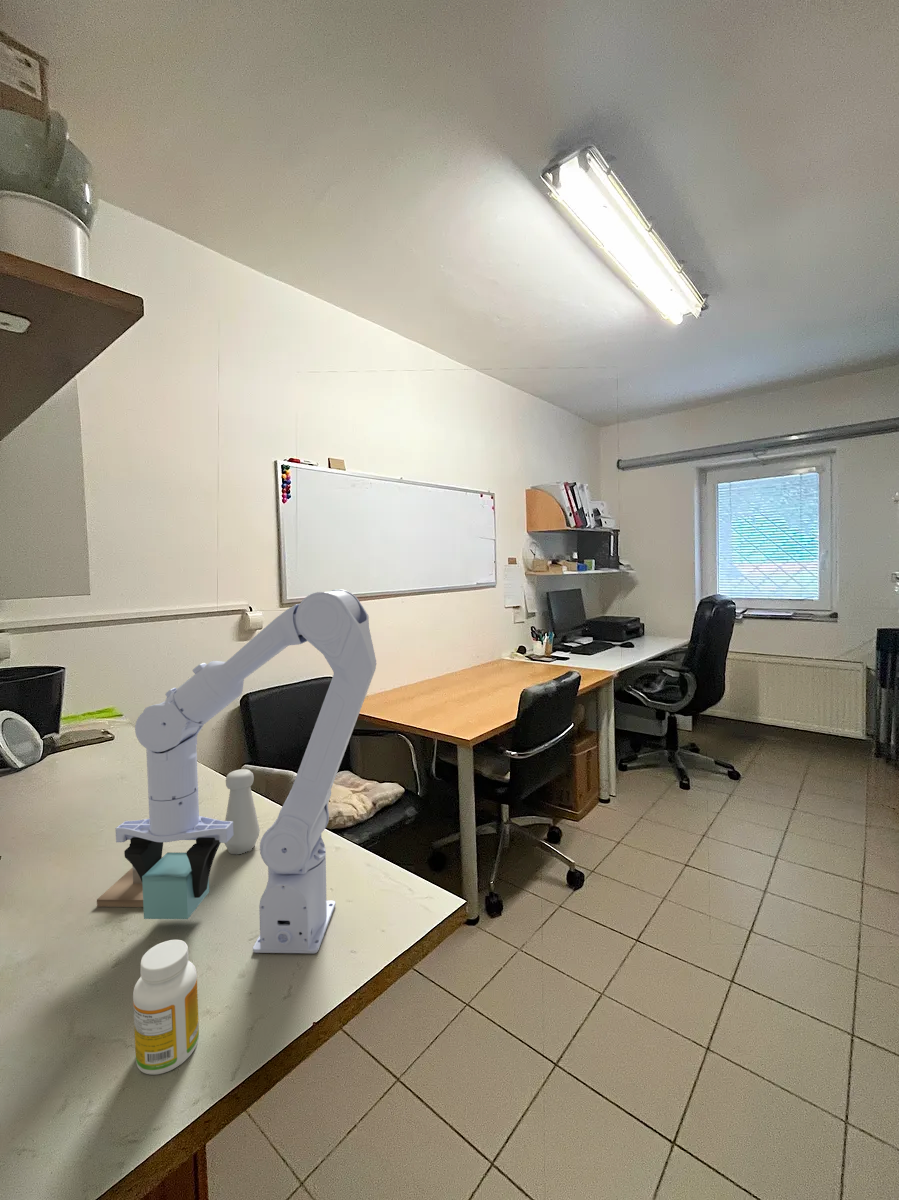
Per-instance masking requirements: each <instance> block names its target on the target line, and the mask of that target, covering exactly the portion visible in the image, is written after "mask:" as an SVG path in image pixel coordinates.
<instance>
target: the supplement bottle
mask: <svg viewBox="0 0 899 1200" xmlns="http://www.w3.org/2000/svg"><path fill="white" fill-rule="evenodd" d="M189 957H190V956H189V947H188V944H187V943H186V941H184V940H181V939H170V940H165V941H163V942H160V943H157V944H155V945H154V946H152V947H150V948H149V949H148V950H147V951H146V952H145V953H144V954H143V955H142V956H141V960H140V972H139V973H140V977H139V978H138V980H137V981H136V983H135V984H134V988H133V993H132V1004H133V1005H132V1006H133V1025H134V1029H133V1030H134V1048H135V1049H134V1050H135V1062H136V1066H137V1068H138V1069H139V1071H141V1073H144V1074H147V1075H152V1076H153V1075H162V1074H165V1073H167V1072H170V1071H172V1070H174V1069H176V1068H177V1067H179V1066H180V1065H182V1064H183V1063H184V1062H185V1061H187V1059H188V1058H190V1056H191V1055H192V1053H193V1052H194V1050H195V1049H196V1047H197V1045H198V1043H199V1039H200V1025H199V1024H200V1023H199V1022H200V1021H199V999H198V998H199V997H198V995H199V994H198V975H197V973H198V972H197V969H196V966H195V964H194V963H193V962H191V961H190V960H189Z"/></svg>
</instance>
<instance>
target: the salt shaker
mask: <svg viewBox="0 0 899 1200" xmlns="http://www.w3.org/2000/svg"><path fill="white" fill-rule="evenodd" d="M254 778H255V776H254V773H253V772H252V771H251V770H250V769H246V768H242V769H236V770H233V771H230V772H229V773H228V774H227V775H226V777H225V786H226V788H227V789H228V790H229V795H228V801H227V809H226V814H225V820H224V821H233V834H234V835H233V836H232V838H231V839H230V840H229V841H228V842H227V843H223V844H224V845H225V847H226V849H227V852H228V853H229V854H231V855H237V854H241V855H242V853H244V854H246V853H248V852H247V851H249V852H251V851H252V850H253V849H254V847H255V846H254V845H256V843H257V841H258V838H259V837H260V836H259V835H260V830H261V829H260V825H259V820H258V816H257V812H256V807H255V801H254V796H253V793H252V788H251V786H252V785H253V784H254ZM252 848H253V849H252ZM250 850H251V851H250ZM245 852H246V853H245Z"/></svg>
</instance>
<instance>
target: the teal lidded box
mask: <svg viewBox="0 0 899 1200" xmlns="http://www.w3.org/2000/svg"><path fill="white" fill-rule="evenodd" d="M142 885H143V907H142V908H143V919H145V920H188V919H189V918H190V917H191V916H192V914H194V912H195V911H196V910H197V908H198V907H199V906H200V904H201V903H202V902H203V901H204V899H205V898H206V897H207V895H208V894H209V893H210V877H209V878H208V884H207V889H206V890H205V892H204V893H203V894H202V895H201V897H199V898H195V897H194V893H193V877H192V870H191V866H190V862H189V859H188V857H187V852H176V851H175V852H171V851H170V852H166V853H165V854H164V855H162V858H161V859H160V860H159V861H158V862H157V863H156V864H155V865H154V866H153V867H152V868H151V869H150V870H149V871H148V872H147V873H145V874H144V875H143V876H142Z"/></svg>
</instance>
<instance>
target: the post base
mask: <svg viewBox="0 0 899 1200" xmlns="http://www.w3.org/2000/svg"><path fill="white" fill-rule="evenodd" d="M131 866H132V867H131V868H130V869H129V870H128V871H127V872H126V873H124V874H123V876H121V877H120V878H119V879H118V880H117V881H116V882H115V883H113V885H111V886H110V887H109V888H108V889H107V890H105V892H103V893H102V894H101V895H100V896H98V898H97V899H96V906H97V907H103V908H104V907H105V908H106V907H111V908H113V907H114V908H115V907H117V908H124V907H125V908H143V885H142V881H141V879H140V877H139V875H138V873H137V871H136V869H135V868H134V867H133V865H132V864H131Z"/></svg>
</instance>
